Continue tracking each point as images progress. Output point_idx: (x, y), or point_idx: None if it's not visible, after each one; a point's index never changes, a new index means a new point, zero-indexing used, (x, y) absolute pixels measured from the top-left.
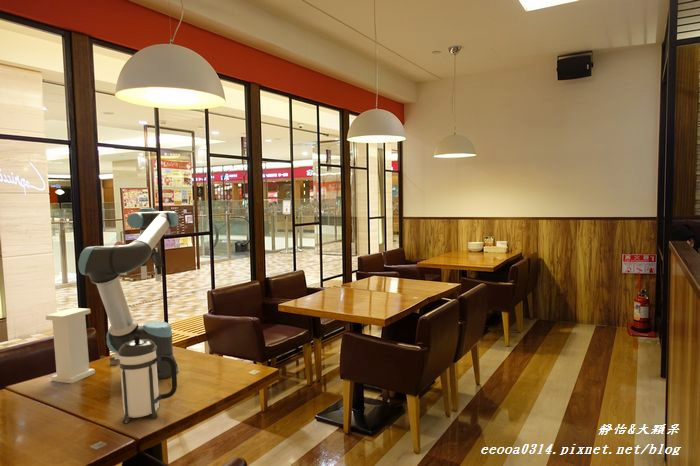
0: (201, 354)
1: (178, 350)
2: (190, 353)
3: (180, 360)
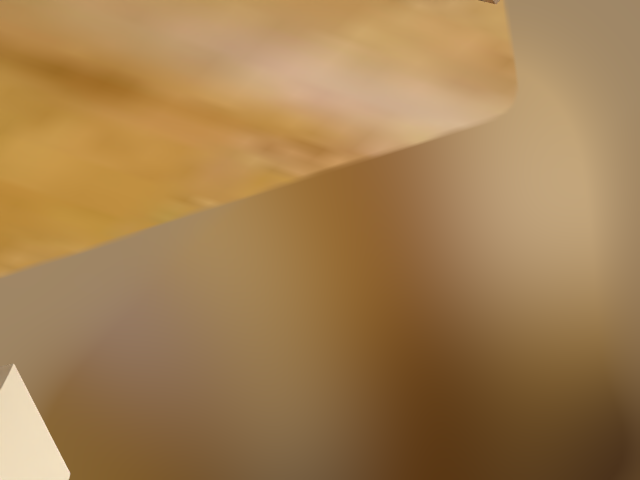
0: (49, 246)
1: (233, 173)
2: (116, 206)
3: (11, 113)
